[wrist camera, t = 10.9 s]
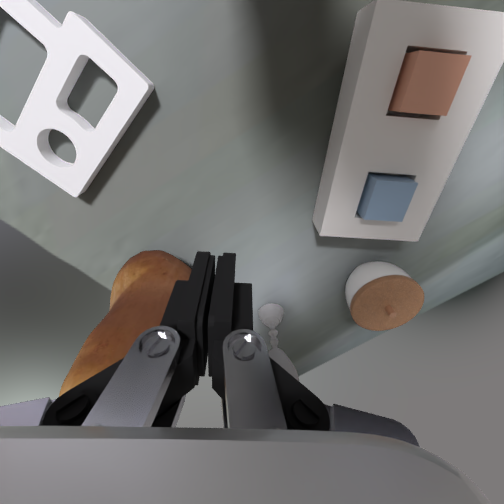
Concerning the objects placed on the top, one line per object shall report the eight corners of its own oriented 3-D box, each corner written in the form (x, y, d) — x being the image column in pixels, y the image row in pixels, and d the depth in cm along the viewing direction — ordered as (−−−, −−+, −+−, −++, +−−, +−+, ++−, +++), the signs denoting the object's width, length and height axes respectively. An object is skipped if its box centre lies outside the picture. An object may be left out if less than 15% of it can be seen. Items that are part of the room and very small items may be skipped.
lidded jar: (356, 307, 50) (376, 348, 42) (325, 274, 46) (341, 313, 38) (409, 277, 46) (443, 316, 38) (381, 238, 42) (412, 273, 34)
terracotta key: (403, 53, 26) (419, 50, 24) (450, 58, 27) (471, 55, 24) (386, 109, 29) (399, 111, 27) (429, 113, 29) (446, 116, 27)
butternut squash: (120, 280, 46) (11, 447, 24) (147, 221, 40) (33, 373, 18) (193, 310, 50) (153, 475, 28) (227, 260, 44) (209, 421, 23)
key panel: (357, 11, 27) (377, -3, 23) (483, 25, 28) (525, 14, 24) (312, 220, 40) (319, 235, 36) (400, 225, 41) (417, 241, 37)
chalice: (264, 294, 48) (272, 390, 33) (295, 305, 50) (318, 402, 34) (247, 320, 51) (247, 418, 36) (277, 330, 53) (290, 427, 38)
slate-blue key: (366, 173, 33) (376, 180, 30) (405, 175, 33) (418, 183, 31) (355, 210, 35) (363, 219, 33) (391, 212, 36) (402, 221, 33)
